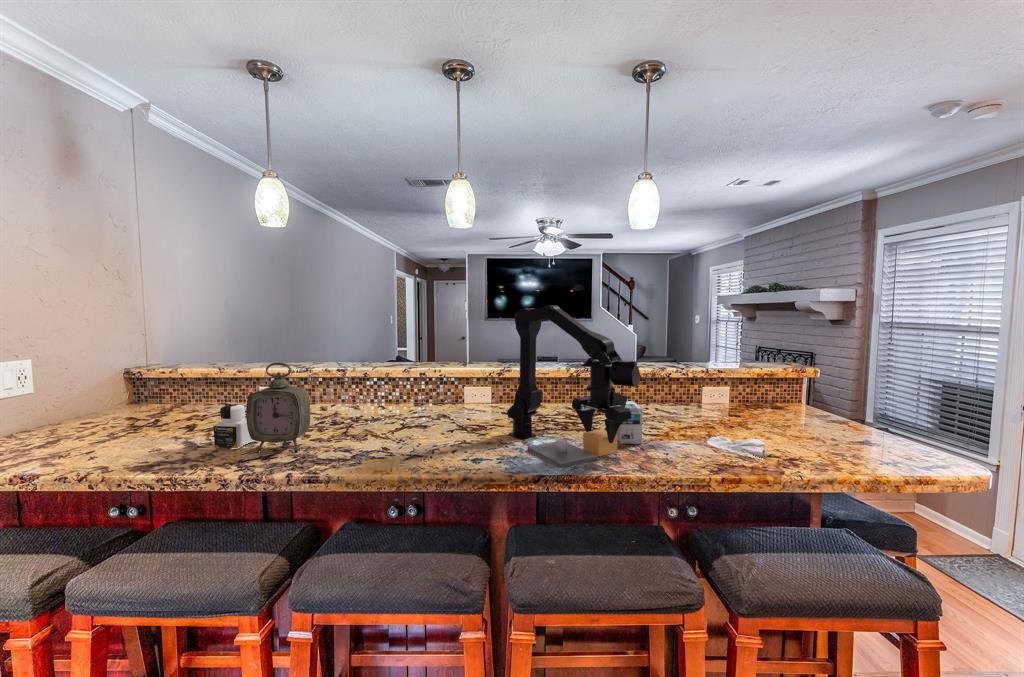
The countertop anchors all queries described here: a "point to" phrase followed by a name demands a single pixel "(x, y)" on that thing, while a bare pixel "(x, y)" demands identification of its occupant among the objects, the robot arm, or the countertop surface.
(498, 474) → the countertop surface
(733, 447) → the cloth
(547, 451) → the post board
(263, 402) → the tabletop clock
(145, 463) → the countertop surface
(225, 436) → the medicine bottle
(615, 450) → the tan wooden cube
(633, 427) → the light bulb box
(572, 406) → the robot arm
